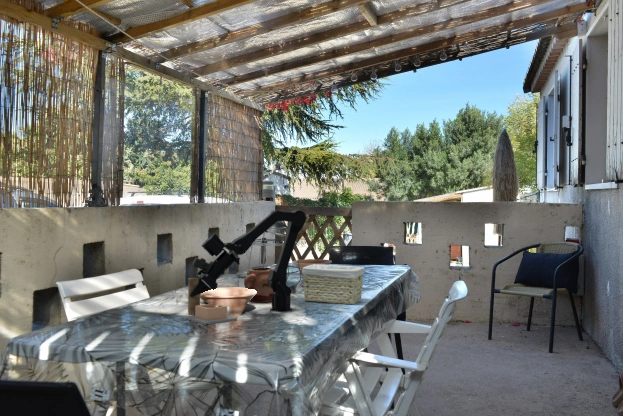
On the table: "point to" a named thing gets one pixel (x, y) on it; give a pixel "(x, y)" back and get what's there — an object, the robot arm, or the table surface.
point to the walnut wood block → (192, 300)
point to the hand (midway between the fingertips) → (190, 295)
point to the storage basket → (333, 283)
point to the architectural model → (241, 279)
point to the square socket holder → (210, 314)
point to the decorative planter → (259, 284)
